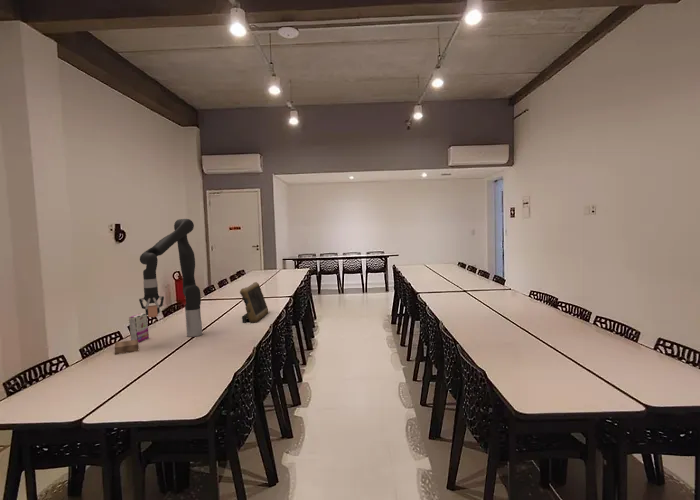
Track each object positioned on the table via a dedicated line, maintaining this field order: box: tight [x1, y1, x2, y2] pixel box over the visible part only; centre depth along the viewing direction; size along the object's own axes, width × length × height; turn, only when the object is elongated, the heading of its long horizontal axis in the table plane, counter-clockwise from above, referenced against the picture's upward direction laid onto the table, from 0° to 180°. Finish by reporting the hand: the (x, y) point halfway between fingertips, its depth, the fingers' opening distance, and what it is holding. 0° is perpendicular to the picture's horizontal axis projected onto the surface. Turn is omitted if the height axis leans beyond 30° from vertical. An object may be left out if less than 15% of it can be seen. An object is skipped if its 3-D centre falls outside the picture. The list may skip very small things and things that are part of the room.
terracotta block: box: [147, 304, 159, 318], centre depth 267 cm, size 5×5×6 cm
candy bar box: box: [128, 312, 150, 343], centre depth 281 cm, size 11×5×16 cm, turn 168°
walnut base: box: [114, 339, 139, 355], centre depth 262 cm, size 12×12×4 cm
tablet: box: [239, 281, 269, 324], centre depth 333 cm, size 33×14×25 cm, turn 179°
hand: (152, 314), depth 267 cm, fingers closed on terracotta block, 5 cm apart
